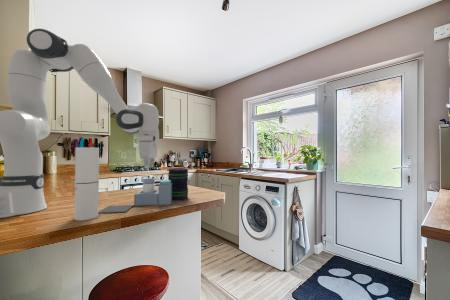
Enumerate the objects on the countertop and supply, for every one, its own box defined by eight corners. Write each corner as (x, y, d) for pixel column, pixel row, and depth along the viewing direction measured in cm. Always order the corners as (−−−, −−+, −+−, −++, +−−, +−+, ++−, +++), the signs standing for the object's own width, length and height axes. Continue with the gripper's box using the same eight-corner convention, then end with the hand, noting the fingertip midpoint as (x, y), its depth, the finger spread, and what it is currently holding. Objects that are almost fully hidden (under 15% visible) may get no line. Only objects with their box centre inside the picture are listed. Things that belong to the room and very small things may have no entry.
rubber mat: (97, 213, 78) (97, 212, 78) (108, 206, 88) (108, 205, 88) (125, 212, 80) (125, 211, 80) (133, 206, 90) (133, 204, 90)
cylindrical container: (86, 221, 70) (87, 147, 70) (69, 219, 71) (70, 147, 72) (103, 214, 77) (103, 148, 77) (86, 213, 78) (87, 148, 79)
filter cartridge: (141, 204, 93) (141, 179, 93) (144, 201, 98) (144, 178, 98) (153, 203, 94) (153, 179, 94) (155, 201, 99) (155, 178, 99)
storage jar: (191, 197, 108) (191, 168, 109) (182, 201, 99) (183, 170, 99) (174, 196, 111) (174, 168, 111) (164, 200, 101) (164, 169, 102)
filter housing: (133, 205, 90) (133, 185, 90) (140, 200, 100) (140, 181, 101) (170, 204, 92) (170, 184, 92) (172, 199, 103) (173, 181, 103)
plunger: (159, 197, 92) (159, 181, 92) (161, 195, 96) (161, 180, 96) (169, 197, 92) (169, 181, 93) (170, 195, 97) (170, 180, 97)
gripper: (147, 139, 107) (147, 166, 106) (136, 136, 86) (136, 169, 86) (160, 139, 107) (160, 166, 107) (151, 136, 87) (152, 169, 87)
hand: (149, 167), depth 97 cm, fingers open, 8 cm apart
